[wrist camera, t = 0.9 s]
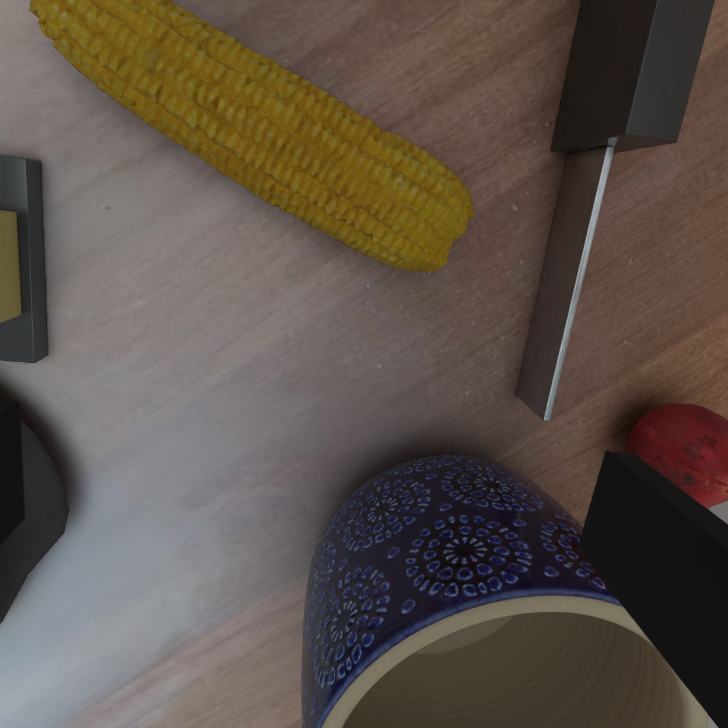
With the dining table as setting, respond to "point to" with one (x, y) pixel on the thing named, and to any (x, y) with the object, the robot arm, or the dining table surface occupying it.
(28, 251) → the board
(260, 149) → the food
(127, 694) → the dining table surface
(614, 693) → the planter
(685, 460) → the onion
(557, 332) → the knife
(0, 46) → the dining table surface
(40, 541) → the casserole
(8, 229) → the butter block
